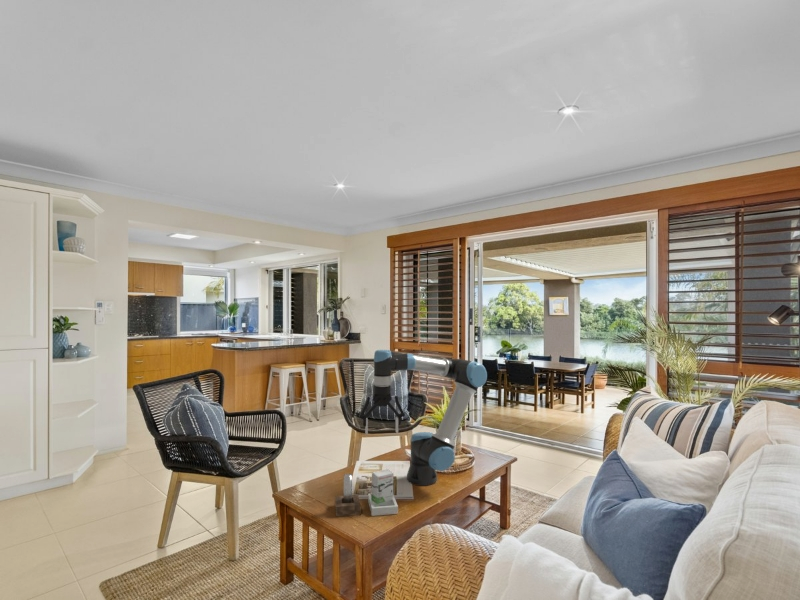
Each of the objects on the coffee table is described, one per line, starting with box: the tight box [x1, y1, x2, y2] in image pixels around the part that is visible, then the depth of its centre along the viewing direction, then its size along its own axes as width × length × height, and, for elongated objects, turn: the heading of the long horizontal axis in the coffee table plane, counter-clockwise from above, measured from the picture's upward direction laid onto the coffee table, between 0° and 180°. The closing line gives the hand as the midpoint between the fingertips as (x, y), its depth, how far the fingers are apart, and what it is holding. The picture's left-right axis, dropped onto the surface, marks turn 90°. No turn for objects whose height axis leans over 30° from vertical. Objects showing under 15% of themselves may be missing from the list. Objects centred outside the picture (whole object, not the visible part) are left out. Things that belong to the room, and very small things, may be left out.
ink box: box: [371, 468, 394, 504], centre depth 183 cm, size 9×5×12 cm, turn 123°
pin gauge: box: [343, 473, 353, 503], centre depth 180 cm, size 4×4×14 cm
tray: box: [367, 492, 399, 517], centre depth 183 cm, size 11×14×3 cm
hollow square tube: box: [334, 493, 362, 517], centre depth 180 cm, size 10×10×4 cm
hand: (381, 433), depth 187 cm, fingers open, 13 cm apart
